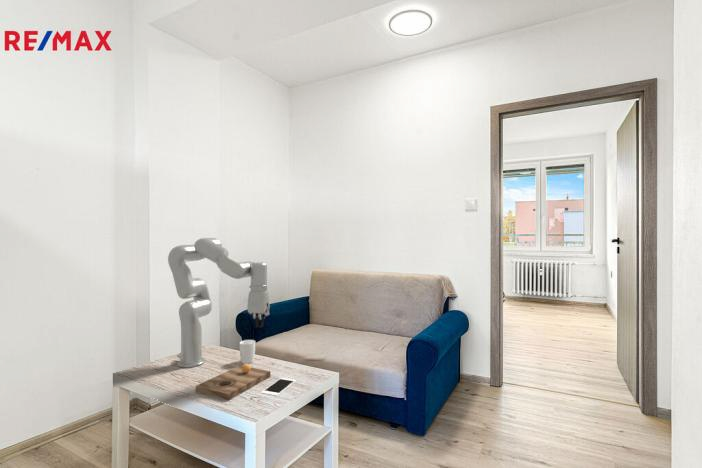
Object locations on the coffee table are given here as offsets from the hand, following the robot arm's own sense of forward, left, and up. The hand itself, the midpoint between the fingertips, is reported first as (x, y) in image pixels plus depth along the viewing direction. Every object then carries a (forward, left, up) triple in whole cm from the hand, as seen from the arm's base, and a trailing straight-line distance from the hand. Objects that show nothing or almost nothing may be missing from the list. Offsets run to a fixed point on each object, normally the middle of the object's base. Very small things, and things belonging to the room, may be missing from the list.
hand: (259, 326), depth 171 cm
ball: (0, -9, -17) cm, 19 cm away
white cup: (-14, +8, -21) cm, 27 cm away
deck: (0, -16, -21) cm, 26 cm away
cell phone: (+19, -10, -22) cm, 31 cm away
